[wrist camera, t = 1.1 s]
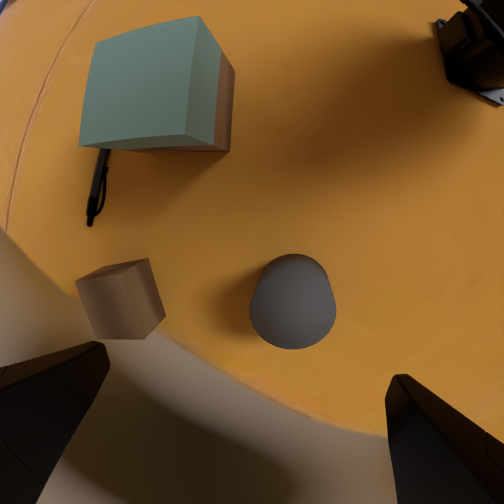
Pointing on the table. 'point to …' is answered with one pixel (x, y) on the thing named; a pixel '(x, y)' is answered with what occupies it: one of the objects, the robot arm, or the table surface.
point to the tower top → (153, 88)
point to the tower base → (221, 118)
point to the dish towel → (3, 5)
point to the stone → (293, 303)
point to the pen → (97, 186)
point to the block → (122, 300)
